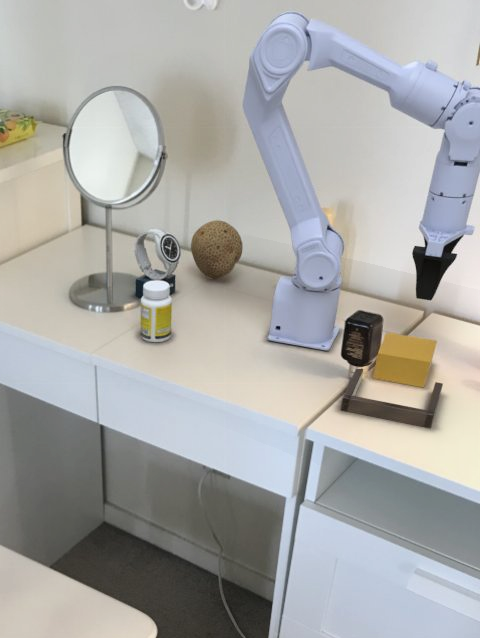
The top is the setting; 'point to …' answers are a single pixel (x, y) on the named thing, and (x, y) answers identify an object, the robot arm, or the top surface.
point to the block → (404, 359)
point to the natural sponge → (216, 248)
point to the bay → (389, 405)
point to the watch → (167, 255)
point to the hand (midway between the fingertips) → (427, 288)
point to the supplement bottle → (156, 311)
